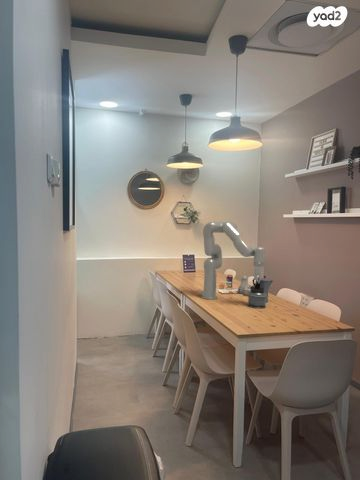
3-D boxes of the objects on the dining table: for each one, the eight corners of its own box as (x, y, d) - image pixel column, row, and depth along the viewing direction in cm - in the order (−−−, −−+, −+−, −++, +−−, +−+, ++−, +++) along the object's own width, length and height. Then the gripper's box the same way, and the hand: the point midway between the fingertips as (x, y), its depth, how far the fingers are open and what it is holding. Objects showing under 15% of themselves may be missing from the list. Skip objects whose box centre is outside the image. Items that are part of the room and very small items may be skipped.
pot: (247, 307, 245) (247, 294, 244) (248, 303, 257) (249, 291, 256) (265, 309, 241) (265, 296, 241) (266, 305, 253) (266, 293, 253)
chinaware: (254, 299, 280) (257, 279, 278) (234, 295, 285) (237, 275, 284) (258, 293, 306) (261, 275, 305) (239, 289, 312) (242, 271, 310)
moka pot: (272, 303, 260) (273, 277, 259) (251, 301, 263) (252, 275, 262) (271, 300, 269) (272, 275, 268) (251, 299, 272) (252, 274, 271)
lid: (247, 294, 244) (247, 287, 244) (248, 291, 257) (249, 284, 256) (266, 296, 241) (266, 289, 240) (266, 293, 253) (267, 286, 253)
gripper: (254, 262, 257) (253, 285, 258) (252, 265, 240) (251, 289, 241) (264, 263, 255) (263, 286, 256) (263, 266, 238) (262, 290, 239)
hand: (257, 288), depth 248 cm, fingers open, 9 cm apart
